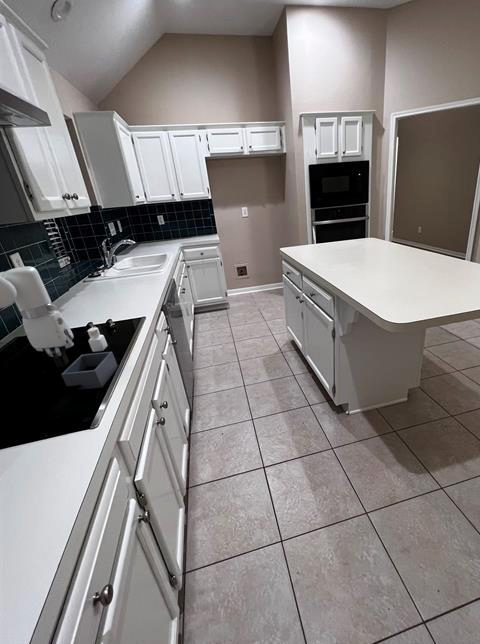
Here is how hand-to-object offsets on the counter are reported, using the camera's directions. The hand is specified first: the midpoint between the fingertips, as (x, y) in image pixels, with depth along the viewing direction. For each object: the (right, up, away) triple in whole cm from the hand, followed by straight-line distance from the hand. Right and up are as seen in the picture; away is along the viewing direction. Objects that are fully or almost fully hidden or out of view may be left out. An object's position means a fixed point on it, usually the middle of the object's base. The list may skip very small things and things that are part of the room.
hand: (63, 364), depth 97 cm
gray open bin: (+3, -3, +1) cm, 4 cm away
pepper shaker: (+1, +2, +18) cm, 18 cm away
